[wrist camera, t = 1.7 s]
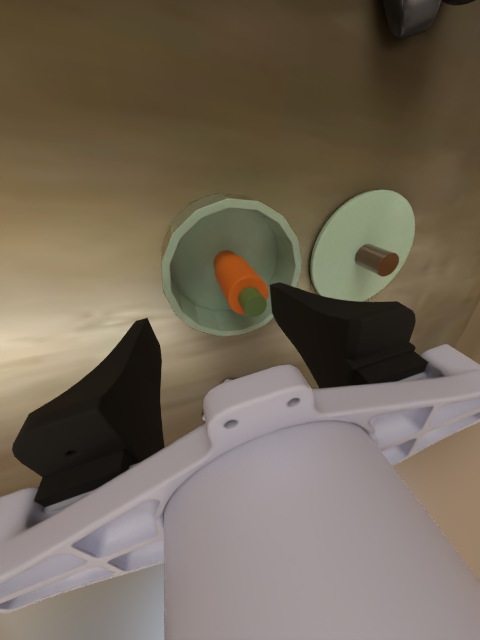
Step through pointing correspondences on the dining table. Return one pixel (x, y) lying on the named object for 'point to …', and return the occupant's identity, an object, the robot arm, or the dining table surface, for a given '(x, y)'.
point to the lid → (362, 246)
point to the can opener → (413, 15)
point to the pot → (218, 235)
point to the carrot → (240, 284)
